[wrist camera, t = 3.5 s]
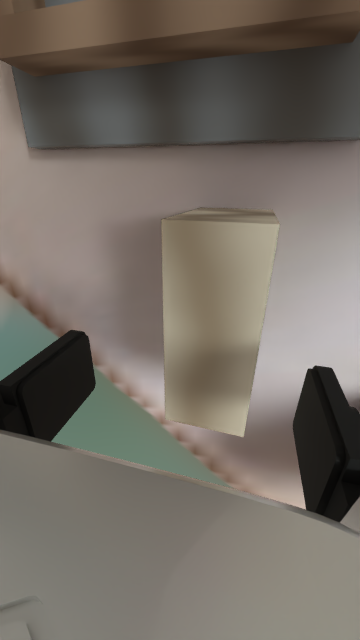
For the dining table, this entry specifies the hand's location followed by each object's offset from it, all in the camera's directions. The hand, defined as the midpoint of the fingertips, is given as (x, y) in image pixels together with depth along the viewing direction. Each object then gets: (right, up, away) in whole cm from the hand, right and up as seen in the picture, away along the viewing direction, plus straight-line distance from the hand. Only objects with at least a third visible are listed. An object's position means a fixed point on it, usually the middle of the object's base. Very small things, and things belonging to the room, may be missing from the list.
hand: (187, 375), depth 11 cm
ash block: (+3, +5, +8) cm, 10 cm away
